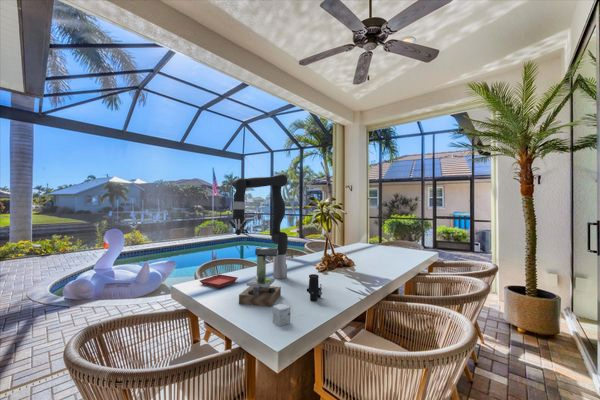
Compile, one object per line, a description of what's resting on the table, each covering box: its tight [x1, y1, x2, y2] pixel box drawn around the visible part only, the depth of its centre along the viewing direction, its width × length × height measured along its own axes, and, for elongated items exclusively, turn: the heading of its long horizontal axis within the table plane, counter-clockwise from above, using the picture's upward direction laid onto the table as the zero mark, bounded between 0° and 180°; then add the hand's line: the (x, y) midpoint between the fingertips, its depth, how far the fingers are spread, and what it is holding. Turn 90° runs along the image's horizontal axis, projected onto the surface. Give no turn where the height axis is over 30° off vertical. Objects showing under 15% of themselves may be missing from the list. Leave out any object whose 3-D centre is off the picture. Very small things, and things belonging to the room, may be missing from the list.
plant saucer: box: [199, 273, 239, 289], centre depth 176 cm, size 18×18×3 cm
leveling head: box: [246, 247, 278, 288], centre depth 147 cm, size 15×13×22 cm
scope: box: [306, 273, 323, 303], centre depth 148 cm, size 8×14×10 cm
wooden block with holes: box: [238, 285, 282, 308], centre depth 147 cm, size 18×18×9 cm
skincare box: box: [272, 302, 292, 327], centre depth 119 cm, size 6×6×7 cm
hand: (238, 234), depth 173 cm, fingers closed
